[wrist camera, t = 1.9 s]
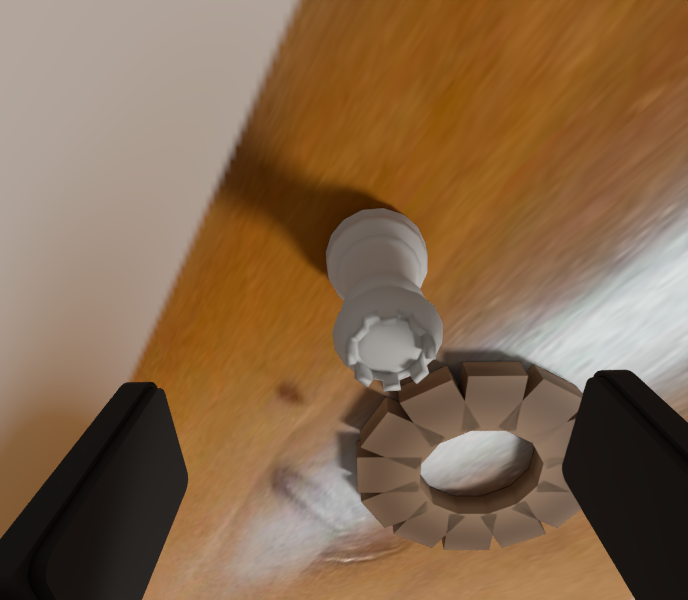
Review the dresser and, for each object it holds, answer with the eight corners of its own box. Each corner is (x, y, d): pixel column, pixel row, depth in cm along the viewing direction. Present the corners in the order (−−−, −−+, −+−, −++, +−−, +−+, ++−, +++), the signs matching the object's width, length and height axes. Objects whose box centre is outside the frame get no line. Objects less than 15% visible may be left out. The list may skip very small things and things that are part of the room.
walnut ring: (628, 359, 20) (643, 374, 19) (567, 532, 27) (576, 550, 26) (355, 363, 21) (355, 377, 20) (358, 532, 27) (358, 549, 26)
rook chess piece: (322, 293, 19) (304, 410, 12) (330, 199, 17) (314, 272, 10) (415, 302, 19) (452, 423, 12) (433, 210, 17) (492, 290, 10)
